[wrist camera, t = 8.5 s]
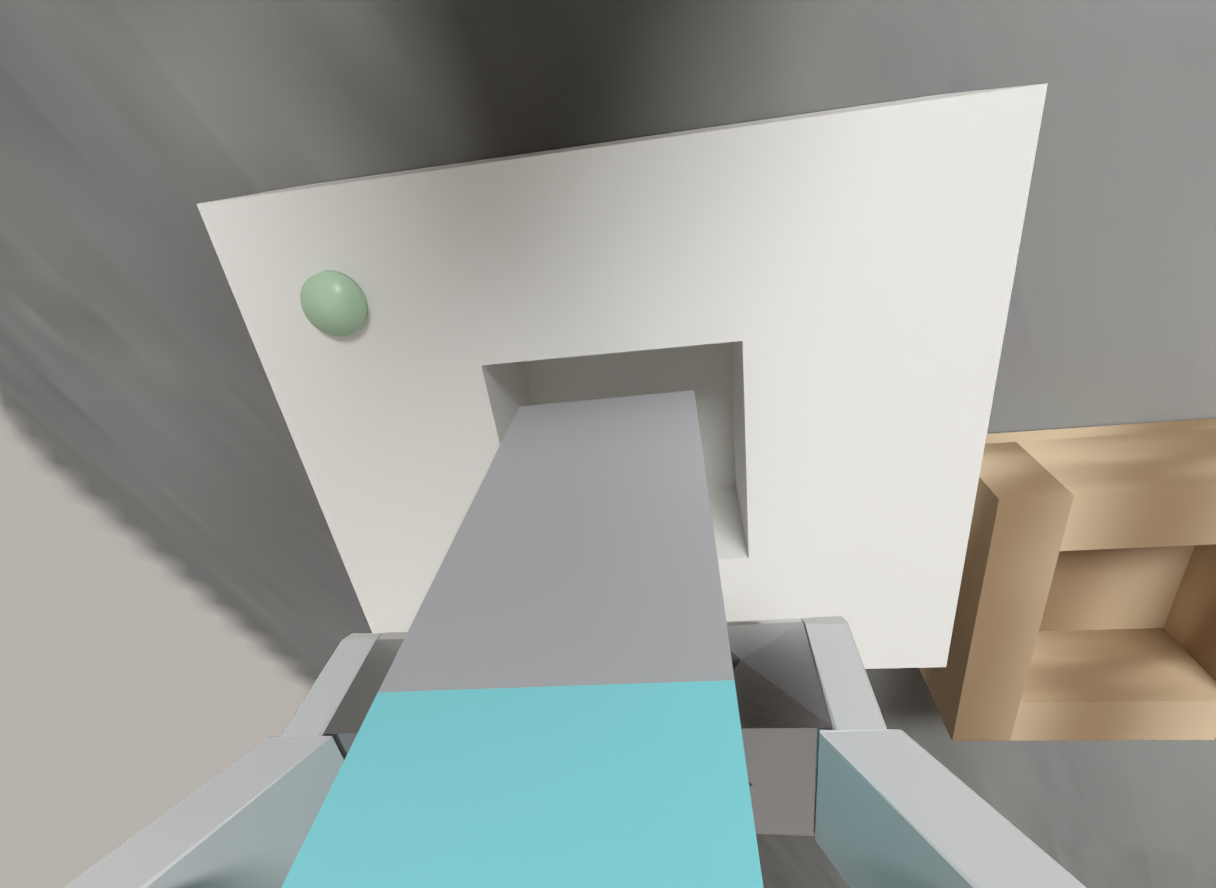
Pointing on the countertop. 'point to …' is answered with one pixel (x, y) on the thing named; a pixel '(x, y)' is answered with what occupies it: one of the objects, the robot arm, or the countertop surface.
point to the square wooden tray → (1088, 589)
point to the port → (667, 340)
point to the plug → (559, 681)
